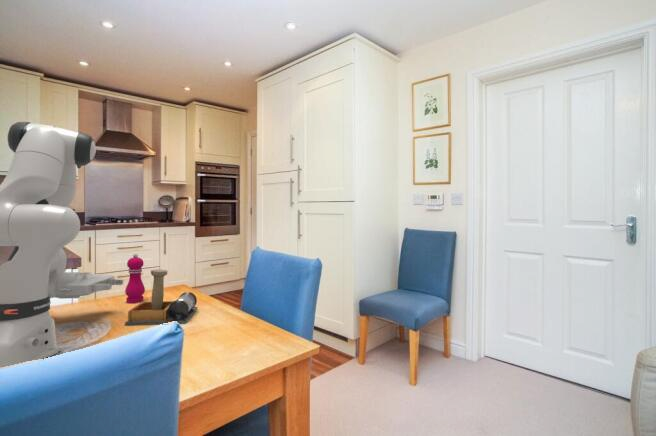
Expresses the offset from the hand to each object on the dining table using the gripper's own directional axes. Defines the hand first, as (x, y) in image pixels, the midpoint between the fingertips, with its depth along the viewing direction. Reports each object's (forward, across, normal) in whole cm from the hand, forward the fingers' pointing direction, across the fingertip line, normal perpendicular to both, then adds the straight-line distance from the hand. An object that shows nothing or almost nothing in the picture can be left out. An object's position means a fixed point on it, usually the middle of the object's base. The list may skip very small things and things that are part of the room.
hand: (116, 284), depth 122 cm
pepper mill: (-3, +25, +12) cm, 27 cm away
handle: (+12, +4, +11) cm, 17 cm away
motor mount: (+16, +1, +12) cm, 20 cm away
